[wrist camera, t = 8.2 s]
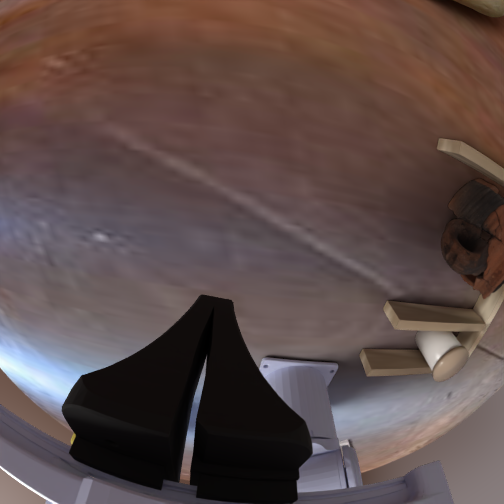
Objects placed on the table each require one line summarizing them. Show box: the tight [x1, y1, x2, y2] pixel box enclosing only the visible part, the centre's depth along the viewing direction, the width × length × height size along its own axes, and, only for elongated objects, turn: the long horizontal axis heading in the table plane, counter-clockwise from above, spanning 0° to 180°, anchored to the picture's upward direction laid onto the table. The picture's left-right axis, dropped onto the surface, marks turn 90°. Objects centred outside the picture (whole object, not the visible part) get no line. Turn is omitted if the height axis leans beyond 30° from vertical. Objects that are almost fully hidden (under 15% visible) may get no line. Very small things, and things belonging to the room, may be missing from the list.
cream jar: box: [415, 330, 469, 382], centre depth 22 cm, size 4×4×6 cm
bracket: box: [359, 138, 504, 376], centre depth 20 cm, size 22×14×3 cm, turn 170°
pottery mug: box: [441, 178, 504, 299], centre depth 18 cm, size 12×10×8 cm
